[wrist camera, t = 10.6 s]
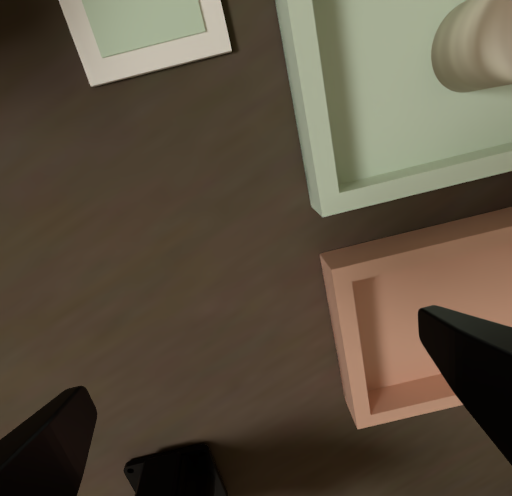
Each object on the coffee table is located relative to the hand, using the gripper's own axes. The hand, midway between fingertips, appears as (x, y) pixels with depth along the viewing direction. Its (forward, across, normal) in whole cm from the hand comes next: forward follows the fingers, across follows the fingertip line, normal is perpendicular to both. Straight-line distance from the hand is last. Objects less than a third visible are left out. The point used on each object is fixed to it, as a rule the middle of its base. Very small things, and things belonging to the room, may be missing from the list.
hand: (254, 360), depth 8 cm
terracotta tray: (+11, -14, +8) cm, 19 cm away
